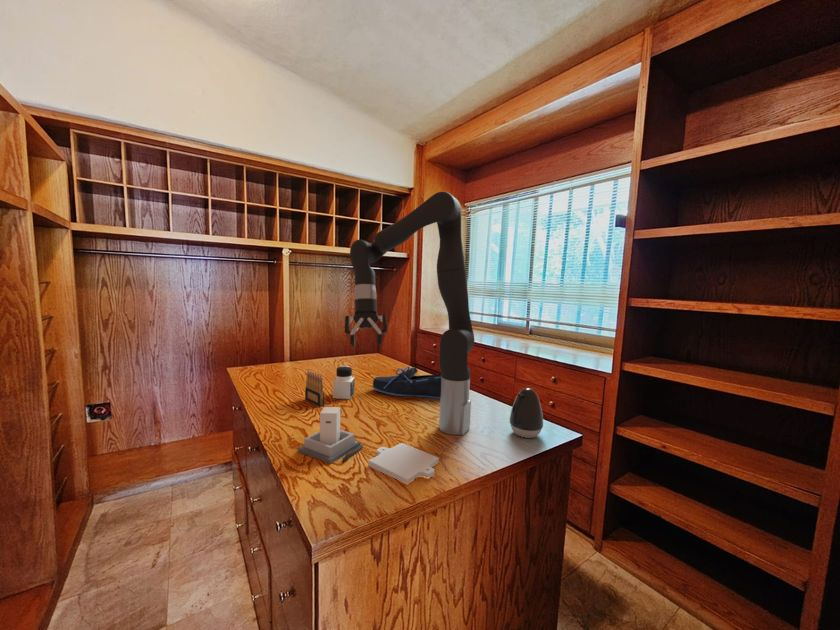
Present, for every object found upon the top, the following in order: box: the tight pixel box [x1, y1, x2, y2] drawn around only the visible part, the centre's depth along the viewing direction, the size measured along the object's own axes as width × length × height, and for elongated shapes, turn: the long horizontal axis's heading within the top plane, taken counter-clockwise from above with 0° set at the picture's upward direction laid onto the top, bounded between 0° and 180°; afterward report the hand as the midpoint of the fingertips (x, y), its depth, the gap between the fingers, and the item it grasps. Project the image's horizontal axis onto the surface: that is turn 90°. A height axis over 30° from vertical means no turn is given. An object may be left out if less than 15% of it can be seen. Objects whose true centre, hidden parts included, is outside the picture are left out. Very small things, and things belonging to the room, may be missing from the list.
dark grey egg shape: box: [509, 387, 544, 439], centre depth 109 cm, size 10×10×15 cm
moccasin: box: [372, 365, 441, 400], centre depth 146 cm, size 14×34×12 cm, turn 87°
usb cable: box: [342, 444, 364, 462], centre depth 93 cm, size 9×1×1 cm, turn 156°
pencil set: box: [304, 369, 325, 408], centre depth 130 cm, size 11×2×12 cm, turn 48°
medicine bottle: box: [332, 365, 356, 400], centre depth 139 cm, size 7×7×12 cm
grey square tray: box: [297, 429, 362, 465], centre depth 96 cm, size 12×12×4 cm
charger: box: [319, 406, 341, 446], centre depth 96 cm, size 4×5×10 cm
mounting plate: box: [368, 442, 440, 484], centre depth 89 cm, size 18×13×2 cm
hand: (366, 345), depth 117 cm, fingers open, 8 cm apart
